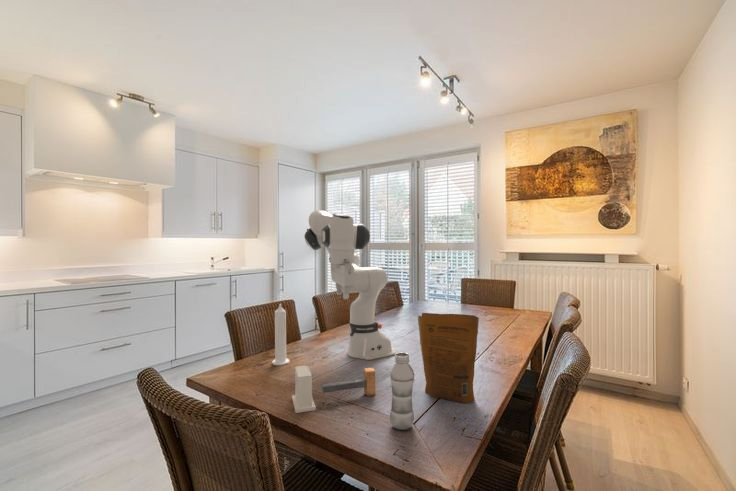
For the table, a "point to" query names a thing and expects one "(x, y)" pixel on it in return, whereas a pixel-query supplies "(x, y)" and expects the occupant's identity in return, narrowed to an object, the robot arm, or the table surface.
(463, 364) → the pancake mix bag
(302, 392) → the block
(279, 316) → the candle
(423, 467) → the table surface
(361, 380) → the wooden mallet
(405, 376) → the plastic bottle
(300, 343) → the table surface
